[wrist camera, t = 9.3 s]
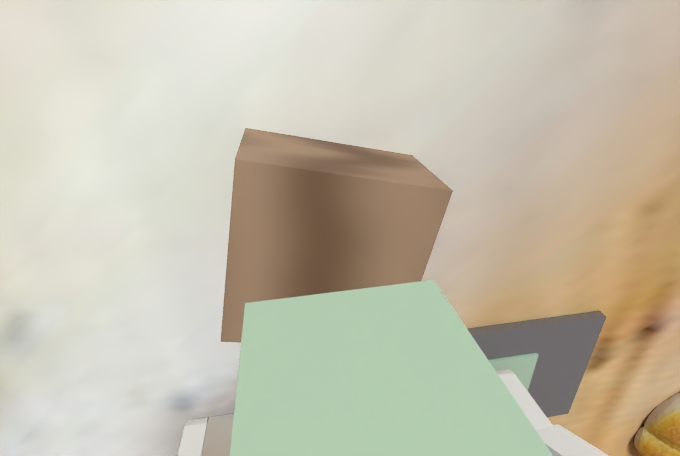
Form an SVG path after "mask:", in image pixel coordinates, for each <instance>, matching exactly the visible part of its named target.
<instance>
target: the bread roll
mask: <svg viewBox="0 0 680 456" xmlns="http://www.w3.org/2000/svg"><path fill="white" fill-rule="evenodd" d="M634 445H635V447H636V449H637V451H638V452H639V454H640V455H641V456H680V392H678V393H676V394H674V395H673V396H671V397H670V398H668V399H667V400H665V401H664V402H662V403H661V404H660V405H658V406H657V407H656V408H655V409H654V410H653V411H652V412H651V413H650V415H649V416H648V418H647V420H646V421H645V424H644V427H641V428H640V429H639V430H638V432H637V433H636V435H635V439H634Z"/></svg>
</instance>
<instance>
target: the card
mask: <svg viewBox="0 0 680 456" xmlns="http://www.w3.org/2000/svg"><path fill="white" fill-rule="evenodd" d="M605 319H606V316H605V315H604V314H603V313H601V312H600V311H595V312H588V313H581V314H573V315H566V316H558V317H551V318H544V319H536V320H529V321H522V322H514V323H507V324H500V325H492V326H485V327H478V328H470V329H468V331H469V332H470V334H471V335H472V337H473V338H474V340H475V341H476V343H477V344H478V346H479V347H480V349H481V350H482V352H483V353H484V354H485V356H486V357H487V359H488V360H489V362H490V363H491V365H492V366H493V368H494V369H495V371H498V370H503V369H510V370H511V371H513V372H514V373H515V375H516V376H517V377H518V379H519V380H520V382H521V383H522V384H523V386H524V387H525V388H526V390H527V391H528V392H529V394H530V395H531V396H532V398H533V399H534V400H535V402H536V403H537V404H538V406H539V407H540V409H541V410H542V411H543V413H544V414H545V415H546V417H551V416H557V415H562V414H568V413H569V410H570V408H571V405H572V402H573V400H574V397H575V395H576V392H577V390H578V387H579V385H580V382H581V380H582V377H583V375H584V372H585V369H586V367H587V364H588V362H589V359H590V357H591V354H592V352H593V349H594V347H595V344H596V342H597V339H598V336H599V334H600V331H601V329H602V326H603V324H604V321H605Z"/></svg>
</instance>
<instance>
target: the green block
mask: <svg viewBox="0 0 680 456" xmlns="http://www.w3.org/2000/svg"><path fill="white" fill-rule="evenodd" d="M230 456H553V455H552V454H551V452H550V451H549V449H548V448H547V446H546V445H545V443H544V442H543V440H542V439H541V437H540V436H539V434H538V433H537V431H536V430H535V428H534V427H533V425H532V424H531V423H530V421H529V420H528V418H527V417H526V415H525V414H524V412H523V411H522V409H521V408H520V406H519V405H518V403H517V402H516V400H515V399H514V397H513V396H512V394H511V393H510V391H509V390H508V389H507V387H506V386H505V384H504V383H503V381H502V380H501V378H500V377H499V375H498V374H497V372H496V371H495V369H494V368H493V366H492V365H491V363H490V362H489V360H488V359H487V357H486V356H485V354H484V353H483V352H482V350H481V349H480V347H479V346H478V344H477V343H476V341H475V340H474V338H473V337H472V335H471V334H470V332H469V331H468V329H467V328H466V326H465V325H464V323H463V322H462V320H461V319H460V318H459V316H458V315H457V313H456V312H455V310H454V309H453V307H452V306H451V304H450V303H449V301H448V300H447V298H446V297H445V295H444V294H443V292H442V291H441V289H440V288H439V286H438V285H437V283H436V282H435V281H434V280H427V281H419V282H411V283H403V284H395V285H387V286H379V287H371V288H363V289H355V290H347V291H339V292H330V293H322V294H314V295H306V296H298V297H290V298H282V299H274V300H266V301H258V302H250V303H245V309H244V319H243V329H242V339H241V349H240V359H239V369H238V379H237V388H236V398H235V408H234V418H233V428H232V438H231V448H230Z"/></svg>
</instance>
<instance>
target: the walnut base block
mask: <svg viewBox="0 0 680 456" xmlns="http://www.w3.org/2000/svg"><path fill="white" fill-rule="evenodd" d="M451 194H452V190H451V189H450V188H449V187H448V186H447V185H445V184H444V183H443V182H442V181H441V180H440V179H438V178H437V177H436V176H435V175H434V174H433V173H432V172H430V171H429V170H428V169H427V168H426V167H425V166H423V165H422V164H421V163H420V162H419V161H418V160H417V159H415V158H414V157H413V156H412V155H406V154H400V153H394V152H388V151H382V150H376V149H370V148H364V147H358V146H352V145H345V144H339V143H333V142H327V141H321V140H315V139H309V138H303V137H297V136H291V135H284V134H278V133H272V132H266V131H260V130H254V129H248V128H246V129H245V132H244V135H243V138H242V140H241V143H240V146H239V149H238V152H237V155H236V158H235V167H234V180H233V192H232V205H231V218H230V231H229V243H228V256H227V269H226V281H225V294H224V307H223V320H222V332H221V342H241V339H242V329H243V319H244V309H245V303H250V302H258V301H266V300H274V299H282V298H290V297H298V296H306V295H314V294H322V293H330V292H339V291H347V290H355V289H363V288H371V287H379V286H387V285H395V284H403V283H411V282H419V281H421V280H422V277H423V274H424V271H425V268H426V265H427V263H428V260H429V257H430V254H431V251H432V248H433V245H434V243H435V240H436V237H437V234H438V231H439V228H440V225H441V223H442V220H443V217H444V214H445V211H446V208H447V205H448V203H449V200H450V197H451Z"/></svg>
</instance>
